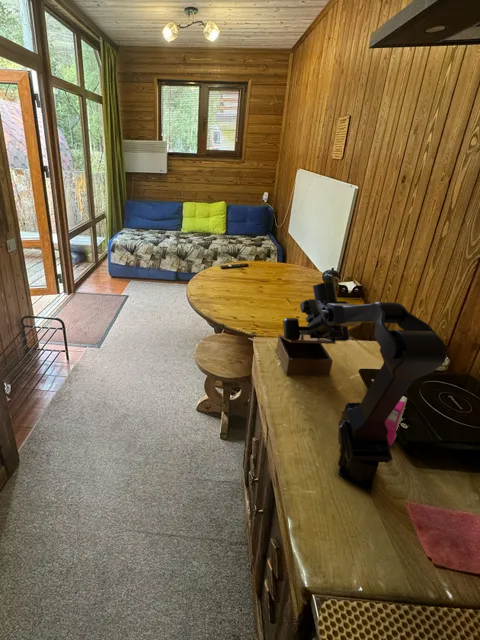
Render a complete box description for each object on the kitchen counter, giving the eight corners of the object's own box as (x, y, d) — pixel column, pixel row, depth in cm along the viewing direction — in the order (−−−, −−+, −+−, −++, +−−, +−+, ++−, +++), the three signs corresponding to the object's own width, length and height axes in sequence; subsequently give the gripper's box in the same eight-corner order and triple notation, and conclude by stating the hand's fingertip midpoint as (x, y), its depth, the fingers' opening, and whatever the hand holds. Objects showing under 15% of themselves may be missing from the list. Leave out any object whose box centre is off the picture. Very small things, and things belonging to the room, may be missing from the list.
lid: (335, 343, 93) (335, 329, 94) (291, 342, 93) (290, 328, 94) (317, 337, 107) (317, 324, 107) (278, 336, 107) (278, 323, 107)
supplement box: (372, 419, 81) (382, 384, 78) (397, 434, 77) (409, 398, 74) (364, 432, 78) (374, 396, 74) (390, 448, 74) (402, 411, 70)
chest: (329, 375, 97) (332, 360, 95) (286, 374, 97) (288, 359, 95) (314, 350, 109) (317, 336, 107) (276, 349, 109) (278, 335, 107)
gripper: (352, 296, 89) (330, 311, 103) (288, 295, 89) (274, 310, 103) (361, 335, 84) (336, 345, 98) (293, 334, 84) (278, 344, 98)
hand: (305, 335), depth 100 cm, fingers open, 9 cm apart
